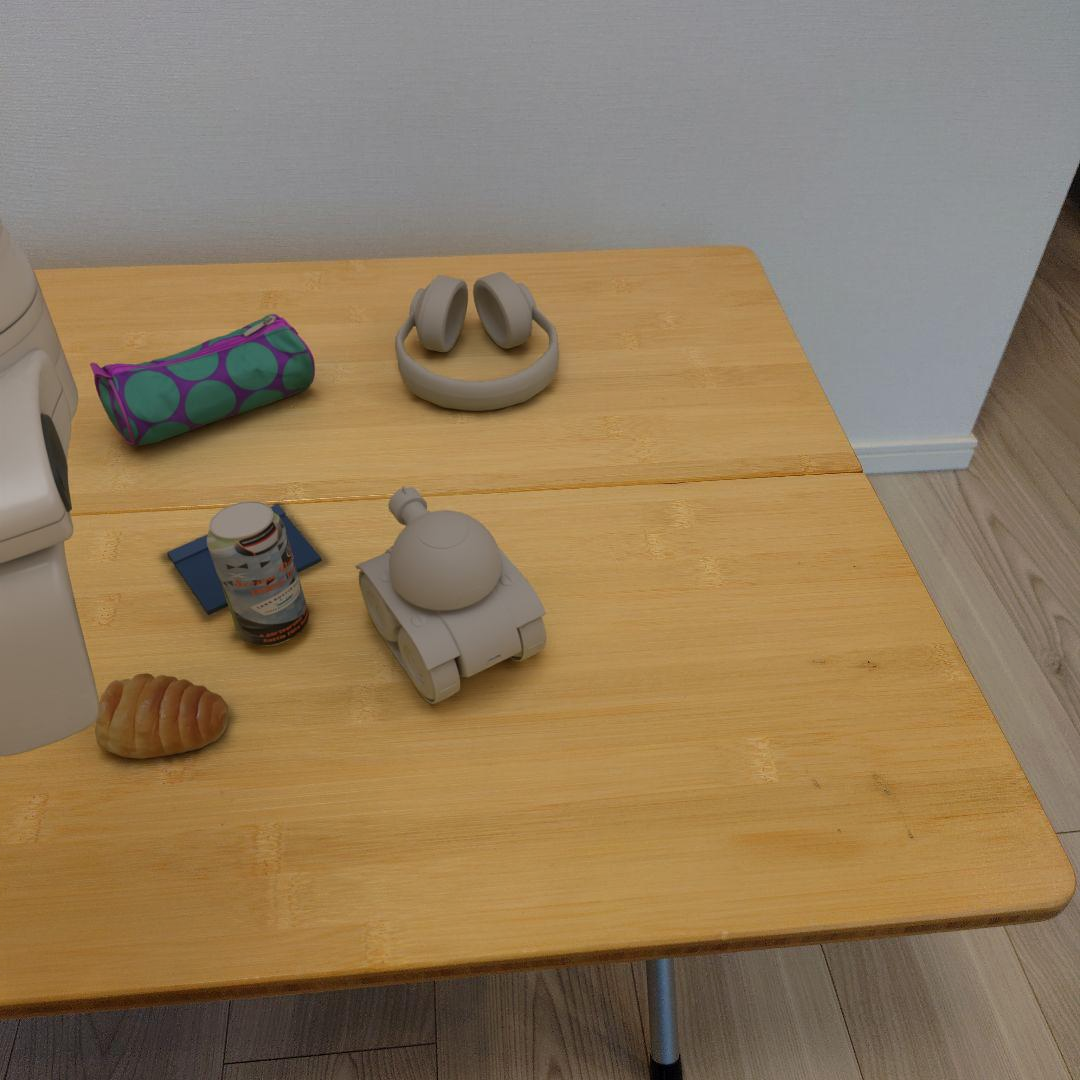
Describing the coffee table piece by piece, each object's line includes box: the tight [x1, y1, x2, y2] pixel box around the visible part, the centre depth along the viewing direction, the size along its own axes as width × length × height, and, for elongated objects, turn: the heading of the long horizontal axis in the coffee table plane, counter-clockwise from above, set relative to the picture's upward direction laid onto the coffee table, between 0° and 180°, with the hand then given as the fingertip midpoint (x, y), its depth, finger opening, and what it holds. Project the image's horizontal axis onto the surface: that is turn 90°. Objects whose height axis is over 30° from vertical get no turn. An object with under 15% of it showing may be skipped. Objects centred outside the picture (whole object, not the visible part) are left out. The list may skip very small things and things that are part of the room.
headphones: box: [394, 271, 560, 412], centre depth 108 cm, size 18×8×20 cm
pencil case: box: [89, 313, 316, 448], centre depth 99 cm, size 21×9×10 cm, turn 127°
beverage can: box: [206, 500, 310, 647], centre depth 77 cm, size 6×7×12 cm
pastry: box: [95, 672, 229, 760], centre depth 73 cm, size 9×7×4 cm
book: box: [166, 503, 322, 615], centre depth 87 cm, size 11×9×1 cm
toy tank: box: [355, 485, 547, 705], centre depth 76 cm, size 15×11×13 cm
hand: (56, 643), depth 42 cm, fingers closed
